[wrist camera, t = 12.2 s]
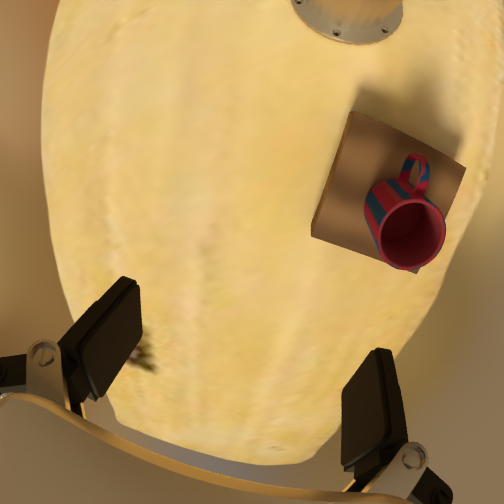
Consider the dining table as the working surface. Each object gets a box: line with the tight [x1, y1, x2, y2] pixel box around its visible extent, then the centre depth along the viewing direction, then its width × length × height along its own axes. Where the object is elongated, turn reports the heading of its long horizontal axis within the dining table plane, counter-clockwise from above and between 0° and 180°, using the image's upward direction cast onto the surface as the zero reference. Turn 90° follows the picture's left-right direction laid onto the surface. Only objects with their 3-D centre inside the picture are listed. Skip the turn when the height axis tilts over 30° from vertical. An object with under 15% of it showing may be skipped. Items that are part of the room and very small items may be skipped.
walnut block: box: [311, 112, 466, 274], centre depth 28 cm, size 14×14×4 cm
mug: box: [364, 153, 446, 270], centre depth 23 cm, size 7×10×7 cm
